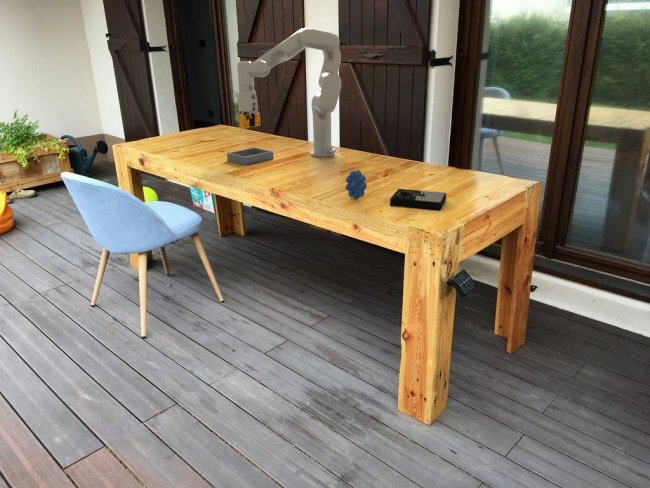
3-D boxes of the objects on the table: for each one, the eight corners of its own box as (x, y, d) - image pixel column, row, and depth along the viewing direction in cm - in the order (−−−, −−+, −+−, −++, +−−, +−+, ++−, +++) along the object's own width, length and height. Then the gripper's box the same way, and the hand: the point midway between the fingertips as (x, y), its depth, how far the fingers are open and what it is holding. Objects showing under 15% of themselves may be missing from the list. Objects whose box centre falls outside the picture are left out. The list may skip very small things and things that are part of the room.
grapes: (374, 200, 206) (374, 170, 202) (360, 204, 203) (361, 173, 198) (354, 193, 215) (354, 165, 210) (341, 197, 211) (341, 167, 207)
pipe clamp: (254, 124, 271) (253, 111, 269) (260, 125, 269) (259, 112, 266) (237, 128, 262) (236, 114, 260) (243, 128, 260) (242, 115, 257)
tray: (273, 159, 273) (273, 151, 271) (246, 165, 261) (245, 157, 259) (254, 154, 282) (254, 147, 281) (227, 160, 270) (226, 153, 269)
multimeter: (397, 197, 212) (397, 185, 210) (445, 201, 206) (446, 189, 204) (389, 207, 200) (389, 194, 199) (440, 212, 194) (441, 199, 192)
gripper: (263, 88, 255) (265, 126, 262) (241, 86, 266) (244, 122, 273) (251, 90, 250) (253, 128, 257) (229, 87, 261) (232, 124, 268)
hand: (248, 125), depth 265 cm, fingers closed on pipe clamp, 4 cm apart
